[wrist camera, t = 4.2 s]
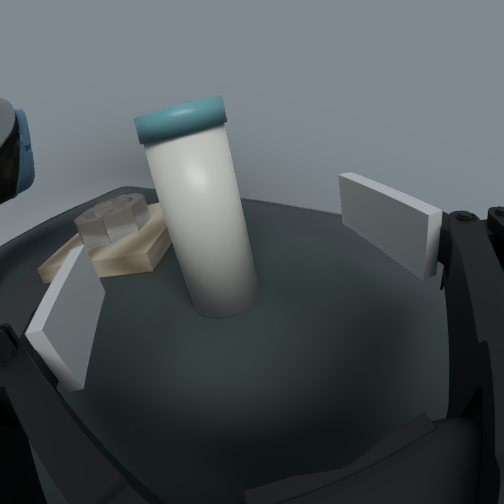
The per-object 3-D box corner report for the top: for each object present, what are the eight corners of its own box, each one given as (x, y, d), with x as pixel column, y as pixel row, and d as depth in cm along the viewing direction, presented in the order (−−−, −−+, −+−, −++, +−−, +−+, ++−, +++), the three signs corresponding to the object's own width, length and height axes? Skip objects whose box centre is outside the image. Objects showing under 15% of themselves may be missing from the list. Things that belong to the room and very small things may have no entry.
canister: (183, 322, 21) (118, 123, 15) (199, 279, 26) (153, 114, 19) (260, 316, 20) (211, 96, 14) (264, 272, 25) (228, 96, 19)
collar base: (44, 283, 31) (26, 247, 29) (102, 227, 45) (91, 198, 43) (153, 271, 28) (136, 223, 26) (194, 210, 43) (185, 175, 40)
